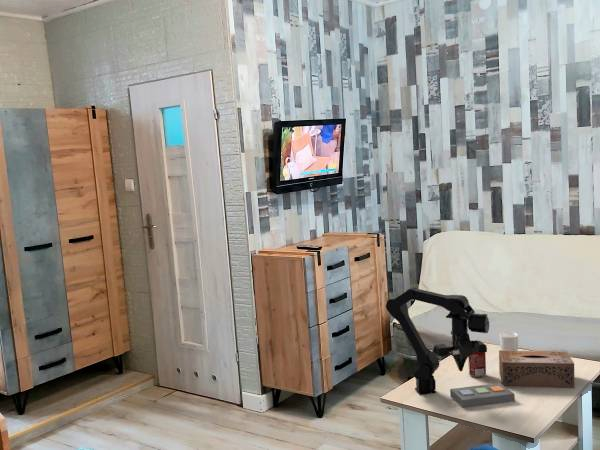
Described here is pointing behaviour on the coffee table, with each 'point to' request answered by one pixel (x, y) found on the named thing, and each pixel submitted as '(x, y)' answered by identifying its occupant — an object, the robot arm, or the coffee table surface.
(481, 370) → the soda can
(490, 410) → the coffee table surface
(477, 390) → the green button
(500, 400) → the button panel
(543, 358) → the tissue box cover
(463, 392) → the blue button
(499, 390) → the orange button
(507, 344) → the white cup
